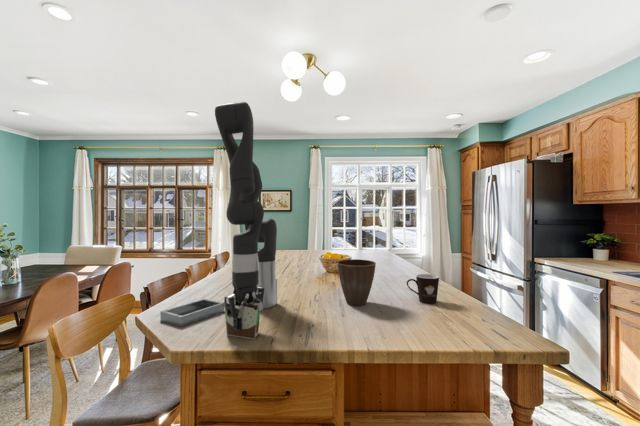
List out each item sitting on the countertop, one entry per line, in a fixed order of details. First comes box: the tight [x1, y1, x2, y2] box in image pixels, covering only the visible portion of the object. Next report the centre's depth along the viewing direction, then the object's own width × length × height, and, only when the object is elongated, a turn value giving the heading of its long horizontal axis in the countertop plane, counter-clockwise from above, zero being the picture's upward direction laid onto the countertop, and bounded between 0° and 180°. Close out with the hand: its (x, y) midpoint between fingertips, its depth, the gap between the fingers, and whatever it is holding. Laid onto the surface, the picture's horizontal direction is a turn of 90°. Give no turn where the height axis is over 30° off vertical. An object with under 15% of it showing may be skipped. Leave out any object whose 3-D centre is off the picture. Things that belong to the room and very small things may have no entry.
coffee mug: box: [406, 273, 440, 305], centre depth 118 cm, size 12×9×10 cm
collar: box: [160, 298, 225, 328], centre depth 102 cm, size 17×11×3 cm, turn 149°
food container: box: [222, 298, 264, 340], centre depth 87 cm, size 12×6×10 cm, turn 71°
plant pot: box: [336, 258, 377, 307], centre depth 115 cm, size 15×15×16 cm
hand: (245, 326), depth 86 cm, fingers closed on food container, 5 cm apart
